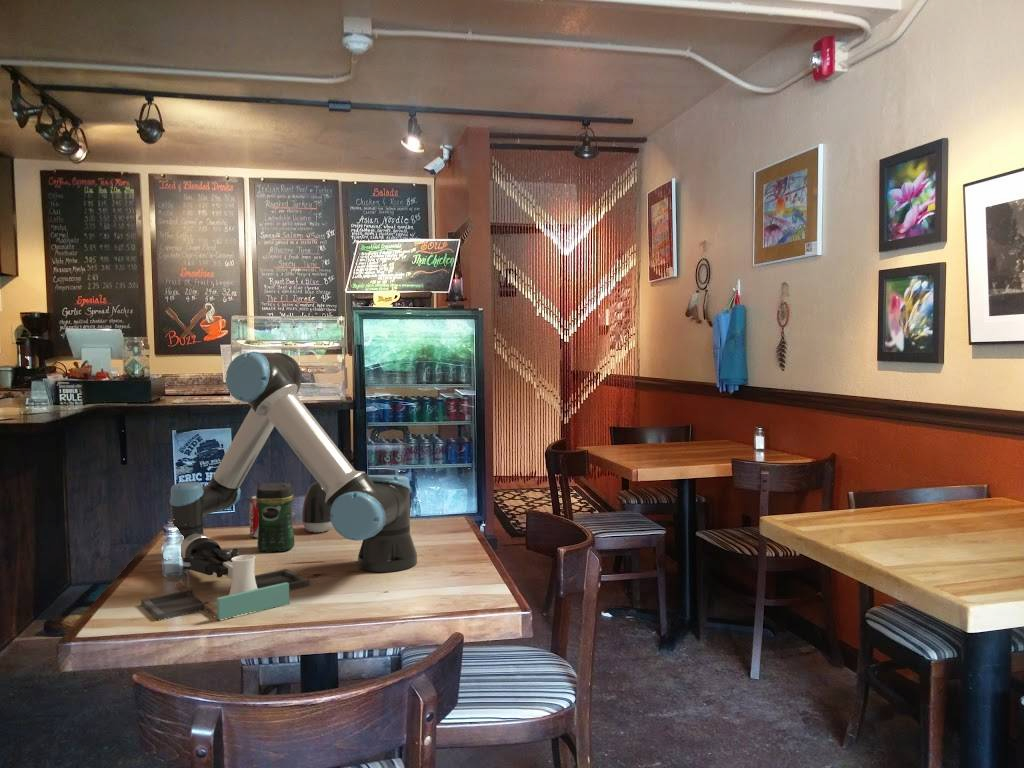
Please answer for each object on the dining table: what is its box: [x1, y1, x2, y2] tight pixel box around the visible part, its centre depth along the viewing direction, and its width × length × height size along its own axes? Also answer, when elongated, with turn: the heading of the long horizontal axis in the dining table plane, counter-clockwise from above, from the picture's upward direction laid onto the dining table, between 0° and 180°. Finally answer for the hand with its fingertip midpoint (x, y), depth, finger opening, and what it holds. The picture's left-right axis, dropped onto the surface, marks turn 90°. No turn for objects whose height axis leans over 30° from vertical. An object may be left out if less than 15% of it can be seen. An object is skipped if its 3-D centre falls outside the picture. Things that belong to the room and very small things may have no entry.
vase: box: [228, 554, 258, 595], centre depth 153 cm, size 8×8×10 cm
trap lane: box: [141, 568, 310, 621], centre depth 159 cm, size 27×33×1 cm
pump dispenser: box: [301, 481, 333, 534], centre depth 218 cm, size 10×10×15 cm
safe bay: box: [216, 582, 290, 620], centre depth 148 cm, size 1×15×4 cm, turn 132°
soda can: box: [248, 495, 259, 539], centre depth 212 cm, size 7×7×12 cm
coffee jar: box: [255, 482, 295, 553], centre depth 197 cm, size 10×8×19 cm
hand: (237, 573), depth 155 cm, fingers closed
